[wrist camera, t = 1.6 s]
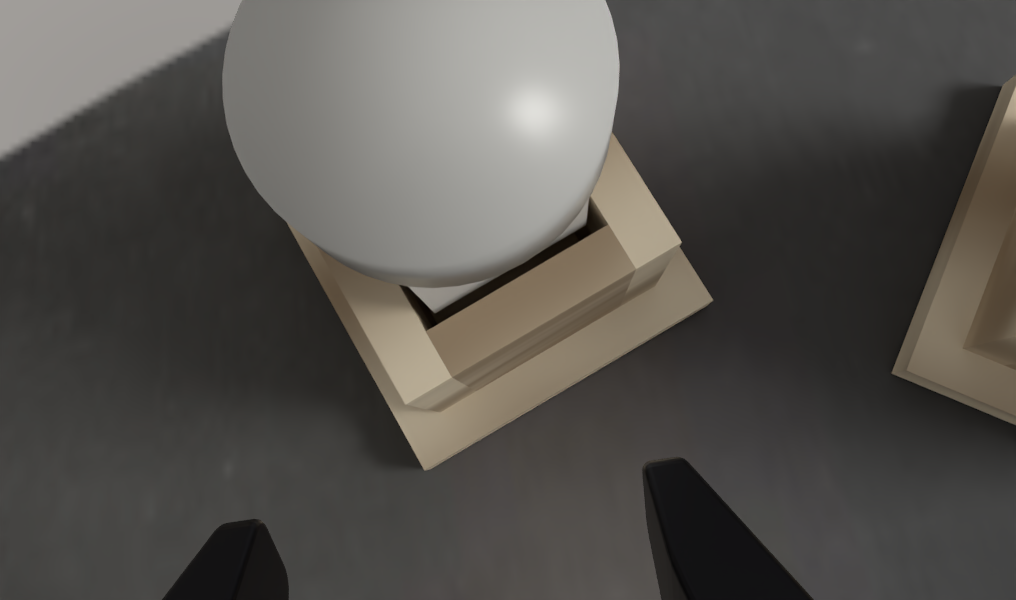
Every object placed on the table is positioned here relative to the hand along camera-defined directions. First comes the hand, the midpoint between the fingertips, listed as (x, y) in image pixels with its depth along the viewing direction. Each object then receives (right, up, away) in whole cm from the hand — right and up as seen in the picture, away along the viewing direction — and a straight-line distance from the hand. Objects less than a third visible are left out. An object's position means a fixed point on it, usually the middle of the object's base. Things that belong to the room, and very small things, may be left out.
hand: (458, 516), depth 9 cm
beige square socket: (0, +3, +14) cm, 15 cm away
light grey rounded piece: (0, +4, +9) cm, 10 cm away
